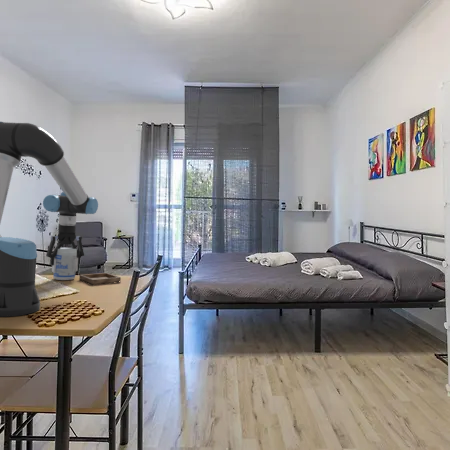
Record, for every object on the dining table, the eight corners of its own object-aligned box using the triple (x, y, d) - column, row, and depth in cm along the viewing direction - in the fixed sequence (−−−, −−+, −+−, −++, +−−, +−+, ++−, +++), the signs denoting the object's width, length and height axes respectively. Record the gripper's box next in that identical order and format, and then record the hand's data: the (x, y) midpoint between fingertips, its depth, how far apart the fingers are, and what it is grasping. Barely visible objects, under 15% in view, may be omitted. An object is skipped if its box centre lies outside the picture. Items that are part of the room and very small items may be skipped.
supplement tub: (50, 280, 163) (52, 248, 162) (55, 276, 172) (57, 247, 172) (73, 280, 165) (75, 249, 165) (77, 277, 174) (78, 247, 174)
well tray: (92, 285, 159) (92, 279, 159) (79, 280, 169) (79, 274, 169) (120, 282, 169) (120, 277, 169) (106, 277, 179) (106, 272, 179)
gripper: (45, 224, 157) (42, 274, 158) (93, 226, 173) (90, 271, 174) (39, 223, 163) (37, 271, 163) (86, 225, 178) (84, 268, 179)
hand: (64, 271), depth 168 cm, fingers closed on supplement tub, 9 cm apart
